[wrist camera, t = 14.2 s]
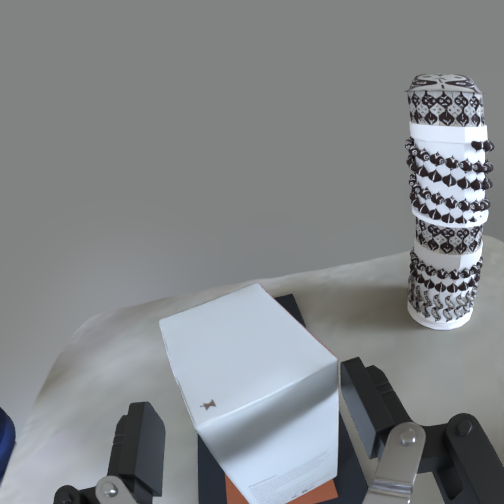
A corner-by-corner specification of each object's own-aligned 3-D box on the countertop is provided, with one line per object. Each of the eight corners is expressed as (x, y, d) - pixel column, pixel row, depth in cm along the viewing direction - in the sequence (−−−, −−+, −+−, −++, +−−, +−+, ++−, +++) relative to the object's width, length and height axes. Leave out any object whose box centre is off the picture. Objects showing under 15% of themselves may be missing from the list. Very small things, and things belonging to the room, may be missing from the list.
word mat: (202, 536, 14) (198, 535, 14) (201, 316, 40) (200, 312, 39) (373, 504, 14) (374, 502, 14) (292, 296, 40) (292, 292, 39)
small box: (339, 476, 17) (343, 358, 11) (258, 517, 15) (191, 431, 9) (285, 407, 24) (257, 278, 18) (217, 439, 22) (154, 319, 16)
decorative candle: (461, 281, 34) (464, 79, 23) (485, 327, 26) (505, 77, 15) (398, 287, 36) (387, 78, 26) (411, 336, 28) (409, 70, 18)
